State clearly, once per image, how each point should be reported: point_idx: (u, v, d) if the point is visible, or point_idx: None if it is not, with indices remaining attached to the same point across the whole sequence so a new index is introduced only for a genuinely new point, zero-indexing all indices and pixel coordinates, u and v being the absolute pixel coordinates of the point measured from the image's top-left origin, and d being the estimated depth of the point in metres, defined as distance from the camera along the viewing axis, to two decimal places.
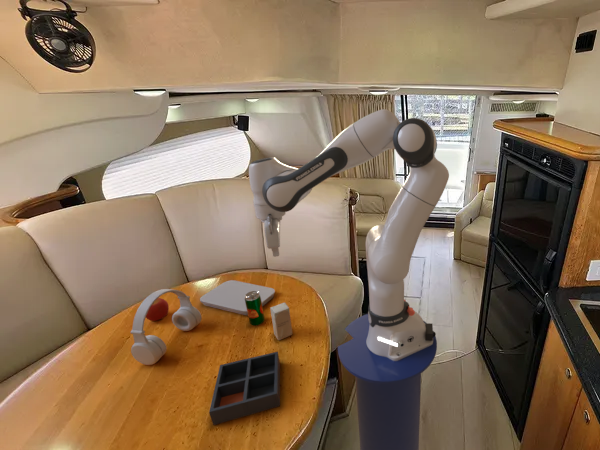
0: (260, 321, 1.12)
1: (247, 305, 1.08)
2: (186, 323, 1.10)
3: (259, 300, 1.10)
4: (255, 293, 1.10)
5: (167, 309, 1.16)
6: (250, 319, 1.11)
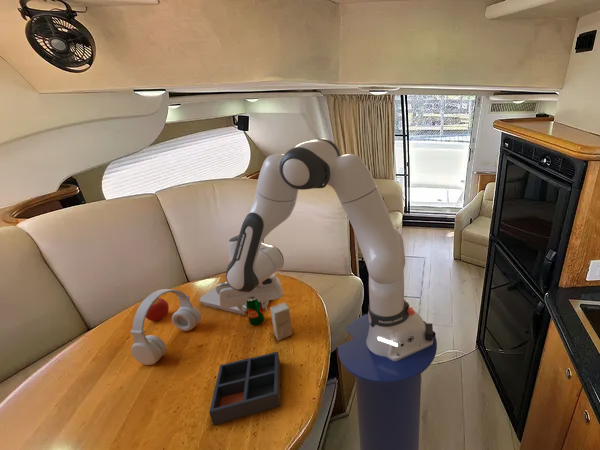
0: (259, 321, 1.12)
1: (247, 305, 1.08)
2: (186, 323, 1.10)
3: None
4: None
5: (167, 309, 1.16)
6: (250, 319, 1.11)
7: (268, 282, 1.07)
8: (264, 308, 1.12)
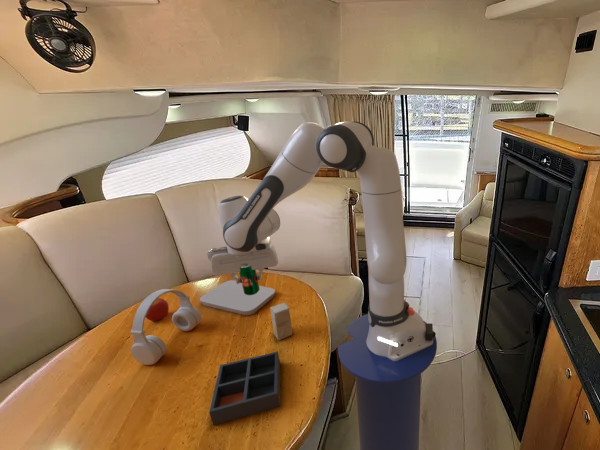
0: (254, 290, 1.07)
1: (240, 273, 1.04)
2: (186, 323, 1.10)
3: None
4: None
5: (167, 309, 1.16)
6: (244, 288, 1.06)
7: (262, 248, 1.02)
8: (259, 277, 1.07)
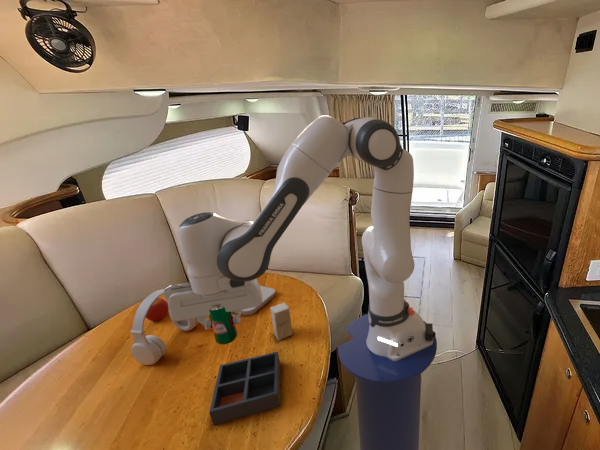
0: (229, 338, 0.80)
1: (210, 316, 0.77)
2: (186, 323, 1.10)
3: None
4: None
5: (167, 309, 1.16)
6: (216, 335, 0.79)
7: (239, 284, 0.75)
8: (236, 320, 0.80)
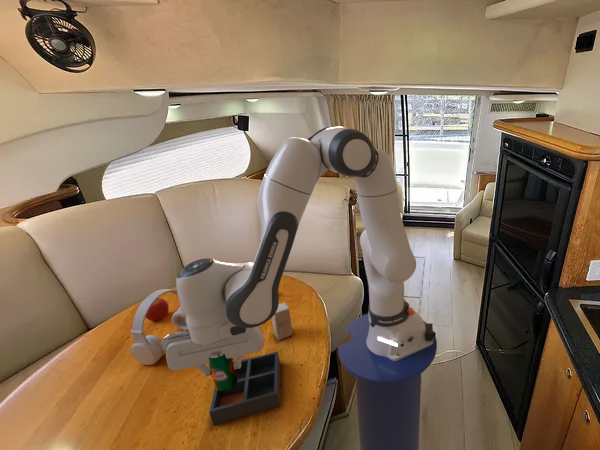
0: (230, 385, 0.77)
1: (210, 364, 0.74)
2: None
3: None
4: None
5: (167, 309, 1.16)
6: (215, 382, 0.76)
7: (240, 331, 0.72)
8: (236, 365, 0.77)
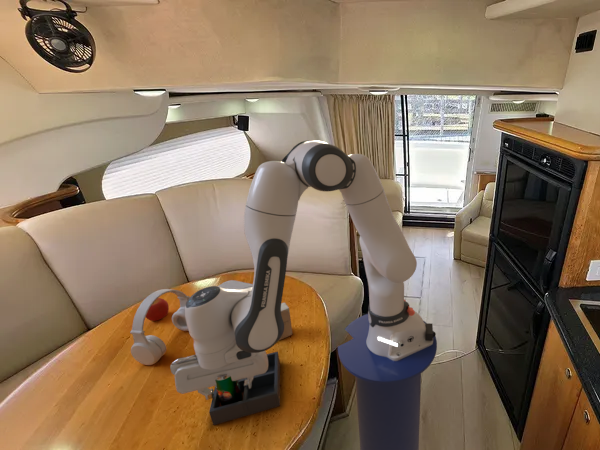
0: None
1: (216, 386, 0.77)
2: (186, 323, 1.10)
3: None
4: None
5: (167, 309, 1.16)
6: (222, 403, 0.79)
7: (246, 356, 0.75)
8: (247, 386, 0.81)
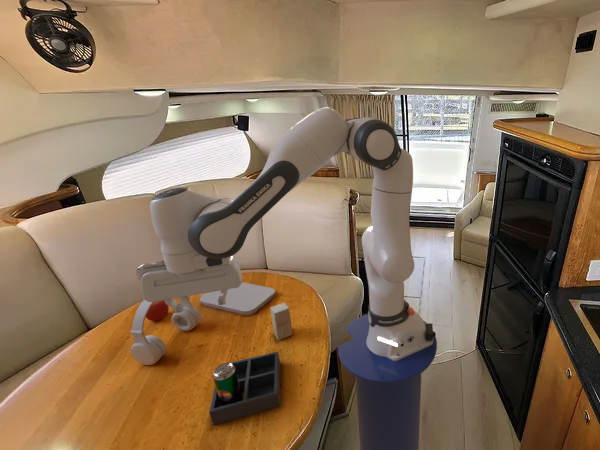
0: None
1: (216, 386, 0.77)
2: (186, 323, 1.10)
3: (234, 377, 0.78)
4: (228, 367, 0.78)
5: (167, 309, 1.16)
6: (222, 403, 0.79)
7: (217, 263, 0.72)
8: (221, 301, 0.78)
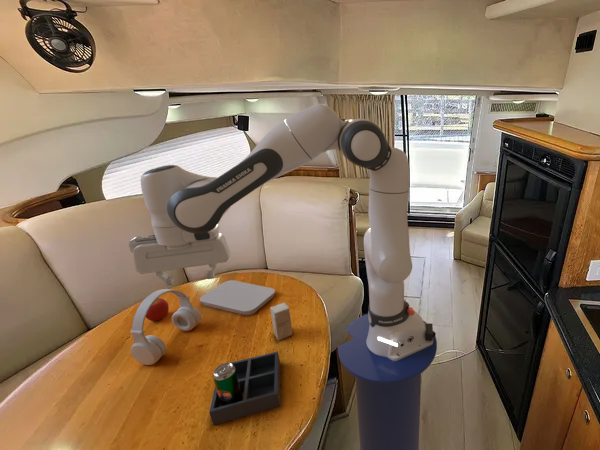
0: None
1: (216, 386, 0.77)
2: (186, 323, 1.10)
3: (234, 377, 0.78)
4: (228, 367, 0.78)
5: (167, 309, 1.16)
6: (222, 403, 0.79)
7: (204, 237, 0.76)
8: (210, 275, 0.82)
